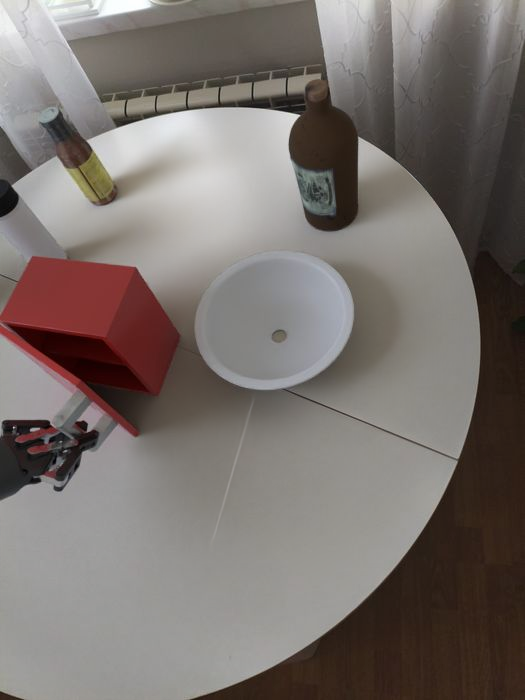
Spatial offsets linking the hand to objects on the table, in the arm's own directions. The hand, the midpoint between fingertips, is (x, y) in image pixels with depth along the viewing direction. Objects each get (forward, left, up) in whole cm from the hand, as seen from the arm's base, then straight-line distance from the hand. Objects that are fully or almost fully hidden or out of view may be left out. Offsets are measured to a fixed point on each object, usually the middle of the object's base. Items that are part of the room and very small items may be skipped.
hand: (90, 431), depth 77 cm
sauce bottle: (-35, +41, -8) cm, 55 cm away
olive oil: (+10, +53, -8) cm, 55 cm away
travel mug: (-33, +23, -8) cm, 41 cm away
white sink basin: (+14, +27, -8) cm, 32 cm away
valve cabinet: (-8, +13, -7) cm, 17 cm away
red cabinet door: (-6, +2, -7) cm, 10 cm away
